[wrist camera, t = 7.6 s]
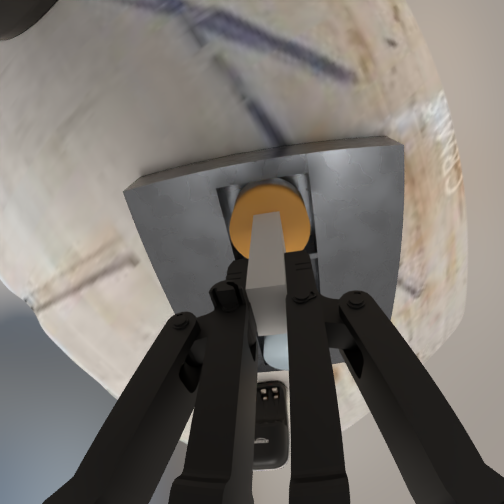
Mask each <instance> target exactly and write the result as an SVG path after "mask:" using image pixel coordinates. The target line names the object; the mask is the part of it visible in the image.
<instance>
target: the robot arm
mask: <svg viewBox="0 0 504 504" xmlns="http://www.w3.org/2000/svg"><path fill="white" fill-rule="evenodd" d="M55 2H56V0H0V41H1V40H8V39H11V38H13V37H15V36H17V35H19V34H21V33H22V32H24V31H25V30H27V29H28V28H29V27H30V26H32V25H33V24H34V23H35V22H36V21H37V20H38V19H40V18H41V17H42V16H43V15H44V14H45V13H46V12H47V10H48V9H49V8H50V7H51V6H52V5H53V4H54V3H55ZM209 295H210V298H211V300H212V303H213V306H214V311H212V312H211V313H208V314H206V315H203V316H200V317H197V318H196V316H195V315H194V314H193V313H191V312H180V313H177V314H175V315H173V316H172V317H171V318H170V319H169V320H168V321H167V323H166V324H165V326H164V327H163V329H162V330H161V332H160V333H159V335H158V337H157V338H156V340H155V341H154V343H153V344H152V346H151V348H150V349H149V351H148V352H147V354H146V355H145V357H144V359H143V360H142V362H141V363H140V365H139V367H138V368H137V370H136V371H135V373H134V375H133V376H132V378H131V379H130V381H129V383H128V384H127V386H126V387H125V389H124V391H123V392H122V394H121V396H120V397H119V399H118V401H117V402H116V404H115V406H114V407H113V409H112V411H111V412H110V414H109V416H108V417H107V419H106V421H105V422H104V424H103V426H102V427H101V429H100V431H99V432H98V434H97V436H96V438H95V440H94V441H93V443H92V445H91V447H90V448H89V450H88V452H87V453H86V455H85V457H84V459H83V461H82V462H81V464H80V466H79V467H78V469H77V471H76V473H75V475H74V477H72V478H71V479H70V480H69V481H68V482H67V483H65V484H64V485H63V486H62V487H61V488H59V489H58V490H57V491H56V492H55V493H53V495H51V496H50V497H49V498H47V499H46V500H45V501H44V502H43V503H42V504H148V503H149V502H150V500H151V497H152V495H153V493H154V491H155V489H156V487H157V485H158V483H159V481H160V479H161V477H162V474H163V473H164V470H165V468H166V466H167V464H168V462H169V460H170V458H171V456H172V454H173V452H174V449H175V447H176V445H177V443H178V441H179V439H180V437H181V435H182V432H183V430H184V428H185V426H186V424H187V422H188V420H189V417H190V415H191V413H192V411H193V409H194V412H193V418H192V423H191V429H190V435H189V440H188V446H187V452H186V458H185V464H184V469H183V472H182V474H181V475H180V476H179V477H177V478H176V479H175V480H174V482H173V483H172V487H171V490H170V496H169V502H168V504H254V500H253V496H252V475H253V456H254V436H255V415H256V394H257V370H258V342H257V338H256V335H257V332H258V336H268V335H277V334H286V333H287V338H288V361H289V388H290V426H291V480H290V486H289V487H290V488H289V504H350V494H349V493H350V492H349V483H348V477H347V474H346V471H345V462H344V452H343V443H342V434H341V425H340V417H339V410H338V402H337V395H336V388H335V381H334V375H333V368H332V362H331V356H330V350H329V348H336V349H339V352H340V354H341V355H342V357H343V359H344V361H345V363H346V365H347V367H348V369H349V371H350V373H351V374H352V376H353V378H354V380H355V382H356V384H357V386H358V388H359V390H360V392H361V394H362V396H363V398H364V400H365V402H366V403H367V405H368V407H369V409H370V411H371V413H372V415H373V417H374V419H375V421H376V423H377V425H378V427H379V429H380V431H381V433H382V435H383V437H384V439H385V441H386V443H387V445H388V448H389V450H390V452H391V454H392V456H393V458H394V460H395V462H396V464H397V466H398V468H399V470H400V473H401V475H402V477H403V479H404V481H405V483H406V485H407V488H408V490H409V492H410V494H411V496H412V497H413V499H414V501H415V503H416V504H504V477H502V476H501V475H500V474H498V473H497V472H496V471H494V470H493V469H492V468H490V467H489V466H487V465H486V464H485V463H484V461H483V460H482V458H481V456H480V454H479V453H478V451H477V449H476V447H475V446H474V444H473V442H472V440H471V439H470V437H469V435H468V434H467V432H466V430H465V429H464V427H463V425H462V424H461V422H460V421H459V419H458V417H457V416H456V414H455V413H454V411H453V409H452V408H451V406H450V405H449V403H448V402H447V400H446V399H445V397H444V395H443V394H442V392H441V391H440V389H439V388H438V386H437V385H436V384H435V382H434V381H433V379H432V378H431V376H430V375H429V373H428V372H427V370H426V369H425V367H424V366H423V365H422V363H421V362H420V360H419V359H418V358H417V356H416V355H415V353H414V352H413V351H412V349H411V348H410V346H409V345H408V344H407V342H406V341H405V340H404V338H403V337H402V336H401V334H400V333H399V332H398V330H397V329H396V328H395V326H394V325H393V324H392V322H391V321H390V320H389V318H388V317H387V316H386V314H385V313H384V312H383V310H382V309H381V308H380V307H379V305H378V304H377V303H376V302H375V300H374V299H373V298H372V296H370V295H369V294H368V293H366V292H364V291H358V290H354V291H349V292H347V293H345V294H343V295H342V296H341V298H340V299H332V298H327V297H325V296H323V295H321V294H320V293H319V292H318V290H317V288H316V283H315V278H314V273H313V269H312V264H311V259H310V255H309V254H308V253H307V252H306V251H305V250H300V251H293V252H286V249H285V242H284V236H283V230H282V224H281V218H280V212H279V211H277V212H270V213H264V214H257V215H253V223H252V232H251V242H250V252H249V258H248V259H241V260H234V261H233V262H232V263H231V264H230V265H229V267H228V270H227V275H226V280H224V281H220V282H218V283H216V284H215V285H213V286H212V287H211V288H210V290H209Z"/></svg>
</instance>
